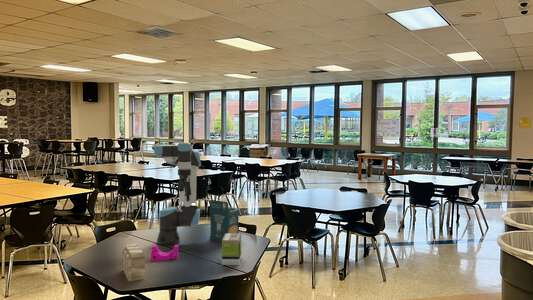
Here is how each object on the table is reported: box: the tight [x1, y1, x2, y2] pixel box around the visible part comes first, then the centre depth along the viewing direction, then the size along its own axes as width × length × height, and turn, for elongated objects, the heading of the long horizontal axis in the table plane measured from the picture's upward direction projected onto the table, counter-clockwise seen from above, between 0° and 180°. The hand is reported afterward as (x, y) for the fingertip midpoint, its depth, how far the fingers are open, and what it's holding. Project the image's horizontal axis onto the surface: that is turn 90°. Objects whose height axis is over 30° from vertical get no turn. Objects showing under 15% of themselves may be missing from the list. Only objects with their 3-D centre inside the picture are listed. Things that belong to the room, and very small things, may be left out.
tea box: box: [221, 232, 242, 266], centre depth 233 cm, size 15×10×15 cm, turn 178°
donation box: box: [209, 199, 240, 243], centre depth 280 cm, size 16×16×28 cm
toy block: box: [150, 244, 179, 262], centre depth 237 cm, size 15×6×8 cm, turn 97°
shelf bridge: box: [122, 243, 146, 282], centre depth 210 cm, size 18×8×14 cm, turn 28°
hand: (184, 204), depth 239 cm, fingers open, 13 cm apart
